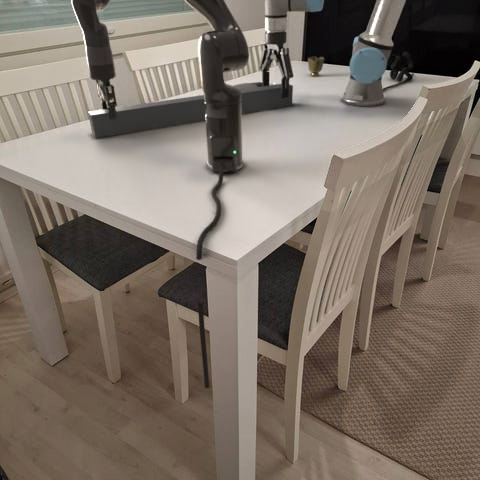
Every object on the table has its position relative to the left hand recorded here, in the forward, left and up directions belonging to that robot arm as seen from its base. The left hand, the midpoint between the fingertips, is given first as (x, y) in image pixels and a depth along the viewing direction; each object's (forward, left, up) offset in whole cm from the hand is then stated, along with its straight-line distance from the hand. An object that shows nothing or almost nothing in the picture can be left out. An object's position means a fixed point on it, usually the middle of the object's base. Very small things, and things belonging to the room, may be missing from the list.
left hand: (110, 115), depth 142 cm
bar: (+15, -27, -6) cm, 31 cm away
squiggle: (+72, -110, -6) cm, 132 cm away
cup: (+83, -73, -6) cm, 110 cm away
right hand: (+31, -53, -1) cm, 61 cm away
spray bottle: (+54, -44, -6) cm, 69 cm away
